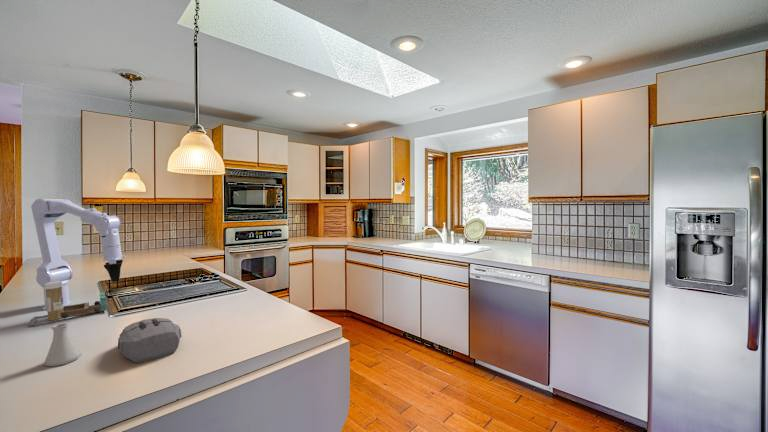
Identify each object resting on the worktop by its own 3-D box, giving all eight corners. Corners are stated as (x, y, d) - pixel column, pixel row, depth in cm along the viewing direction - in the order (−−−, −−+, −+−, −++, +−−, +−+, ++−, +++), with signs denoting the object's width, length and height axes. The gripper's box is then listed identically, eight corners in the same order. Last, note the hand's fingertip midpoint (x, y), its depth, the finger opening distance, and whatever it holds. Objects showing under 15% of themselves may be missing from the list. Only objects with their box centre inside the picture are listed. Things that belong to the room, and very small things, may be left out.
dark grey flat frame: (33, 318, 125) (33, 316, 125) (103, 306, 138) (103, 304, 138) (29, 327, 117) (29, 325, 117) (104, 313, 130) (104, 311, 130)
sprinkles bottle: (63, 318, 125) (60, 282, 124) (45, 321, 122) (42, 284, 121) (65, 315, 128) (63, 280, 128) (49, 317, 126) (46, 282, 125)
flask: (60, 355, 96) (57, 320, 96) (87, 353, 97) (84, 319, 96) (36, 368, 89) (33, 331, 88) (66, 366, 90) (62, 329, 89)
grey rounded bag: (187, 351, 98) (171, 331, 113) (186, 322, 98) (169, 306, 112) (122, 370, 88) (113, 345, 102) (120, 339, 87) (111, 318, 102)
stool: (62, 311, 130) (61, 298, 130) (105, 304, 139) (104, 292, 138) (60, 319, 122) (59, 305, 122) (106, 310, 130) (105, 297, 130)
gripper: (123, 245, 131) (128, 280, 132) (124, 243, 143) (128, 275, 144) (100, 248, 127) (105, 284, 128) (102, 246, 139) (107, 278, 140)
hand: (116, 279), depth 136 cm, fingers open, 7 cm apart
